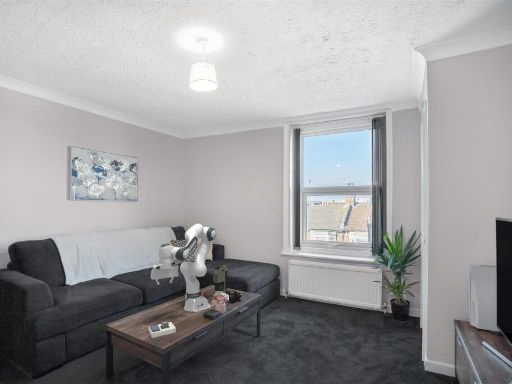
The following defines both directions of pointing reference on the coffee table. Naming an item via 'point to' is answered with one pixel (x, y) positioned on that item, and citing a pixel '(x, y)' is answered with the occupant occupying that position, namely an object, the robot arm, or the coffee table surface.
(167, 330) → the switch plate
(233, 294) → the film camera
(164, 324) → the rocker switch
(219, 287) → the device
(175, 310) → the coffee table surface
